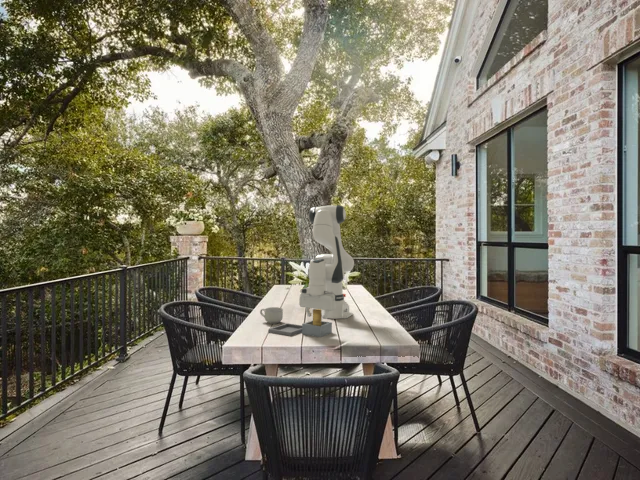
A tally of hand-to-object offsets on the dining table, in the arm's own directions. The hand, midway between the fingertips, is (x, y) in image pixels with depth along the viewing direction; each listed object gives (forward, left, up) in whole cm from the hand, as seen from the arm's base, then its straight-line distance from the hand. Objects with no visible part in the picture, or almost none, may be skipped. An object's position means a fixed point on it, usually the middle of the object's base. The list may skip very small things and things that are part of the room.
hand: (317, 317), depth 206 cm
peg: (0, 0, -8) cm, 8 cm away
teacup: (-10, -38, -9) cm, 40 cm away
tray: (+4, -15, -9) cm, 18 cm away
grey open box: (0, 0, -9) cm, 9 cm away
